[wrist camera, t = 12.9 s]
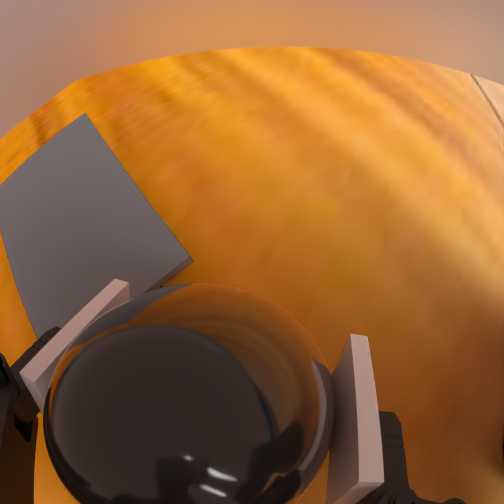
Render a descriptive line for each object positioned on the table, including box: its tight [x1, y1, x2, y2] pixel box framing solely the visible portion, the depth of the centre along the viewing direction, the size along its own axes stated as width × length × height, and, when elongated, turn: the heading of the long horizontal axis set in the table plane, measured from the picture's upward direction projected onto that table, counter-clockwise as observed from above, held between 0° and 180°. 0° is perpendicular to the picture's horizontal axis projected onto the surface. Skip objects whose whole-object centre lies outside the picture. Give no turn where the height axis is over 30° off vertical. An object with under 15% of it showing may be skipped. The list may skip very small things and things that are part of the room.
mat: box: [0, 113, 193, 339], centre depth 21 cm, size 13×20×1 cm, turn 40°
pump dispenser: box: [43, 283, 335, 504], centre depth 10 cm, size 10×10×15 cm
